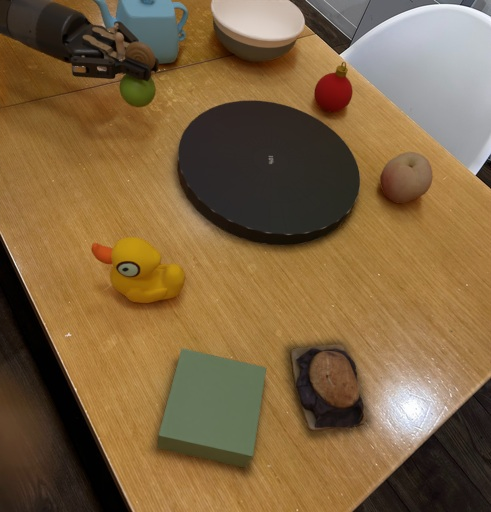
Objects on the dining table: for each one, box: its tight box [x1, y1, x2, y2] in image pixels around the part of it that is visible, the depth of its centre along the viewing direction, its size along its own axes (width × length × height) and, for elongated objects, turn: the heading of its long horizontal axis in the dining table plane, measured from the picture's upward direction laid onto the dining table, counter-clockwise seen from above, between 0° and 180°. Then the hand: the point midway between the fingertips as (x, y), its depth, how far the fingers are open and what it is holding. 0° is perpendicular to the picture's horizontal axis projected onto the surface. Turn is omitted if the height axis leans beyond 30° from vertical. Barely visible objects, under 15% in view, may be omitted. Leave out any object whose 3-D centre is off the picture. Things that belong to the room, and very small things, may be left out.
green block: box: [156, 347, 267, 469], centre depth 56 cm, size 10×10×5 cm
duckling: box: [90, 236, 186, 304], centre depth 62 cm, size 11×5×10 cm, turn 86°
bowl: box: [210, 0, 306, 63], centre depth 100 cm, size 19×19×8 cm
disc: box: [176, 99, 361, 246], centre depth 82 cm, size 30×30×3 cm
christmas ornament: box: [313, 61, 353, 113], centre depth 92 cm, size 7×7×10 cm
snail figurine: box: [113, 23, 157, 108], centre depth 74 cm, size 5×6×12 cm
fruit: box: [379, 151, 434, 204], centre depth 82 cm, size 8×8×8 cm
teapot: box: [92, 0, 189, 65], centre depth 92 cm, size 12×18×12 cm
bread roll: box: [290, 343, 366, 433], centre depth 61 cm, size 11×8×4 cm
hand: (153, 70), depth 73 cm, fingers closed on snail figurine
